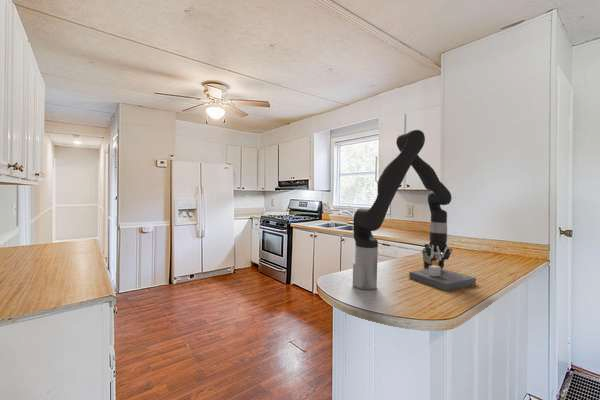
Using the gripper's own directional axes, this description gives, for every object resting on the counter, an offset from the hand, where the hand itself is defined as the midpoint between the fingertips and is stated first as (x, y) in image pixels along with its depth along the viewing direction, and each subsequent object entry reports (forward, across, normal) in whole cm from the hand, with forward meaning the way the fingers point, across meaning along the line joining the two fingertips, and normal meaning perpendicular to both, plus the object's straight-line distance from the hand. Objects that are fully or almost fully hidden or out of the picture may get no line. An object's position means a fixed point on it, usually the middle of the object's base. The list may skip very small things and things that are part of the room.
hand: (437, 266), depth 134 cm
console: (+5, +6, -5) cm, 9 cm away
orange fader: (+1, 0, 0) cm, 1 cm away
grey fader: (+1, +6, -10) cm, 12 cm away
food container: (+5, -13, +13) cm, 19 cm away
